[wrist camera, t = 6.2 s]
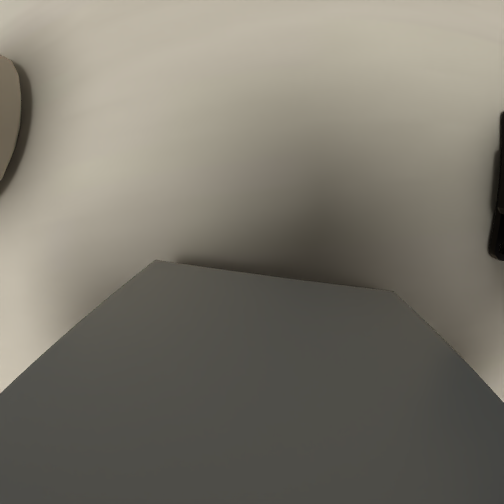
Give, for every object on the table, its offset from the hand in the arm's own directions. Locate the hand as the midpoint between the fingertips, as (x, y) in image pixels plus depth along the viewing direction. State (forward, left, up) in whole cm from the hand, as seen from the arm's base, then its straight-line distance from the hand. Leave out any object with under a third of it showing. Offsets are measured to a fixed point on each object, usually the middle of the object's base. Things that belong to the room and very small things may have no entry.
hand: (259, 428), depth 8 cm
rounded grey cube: (0, 0, -2) cm, 2 cm away
